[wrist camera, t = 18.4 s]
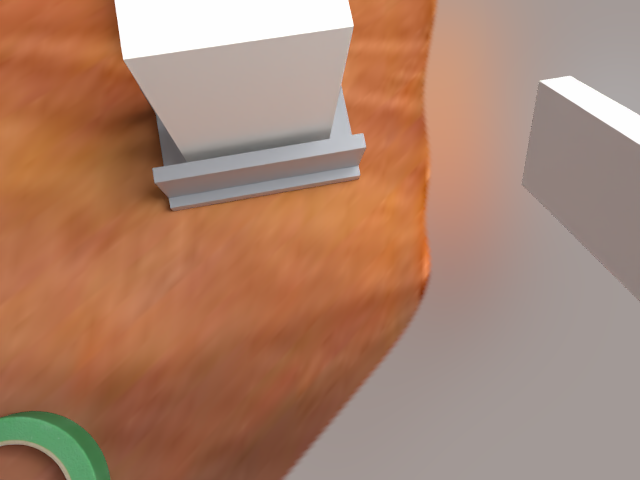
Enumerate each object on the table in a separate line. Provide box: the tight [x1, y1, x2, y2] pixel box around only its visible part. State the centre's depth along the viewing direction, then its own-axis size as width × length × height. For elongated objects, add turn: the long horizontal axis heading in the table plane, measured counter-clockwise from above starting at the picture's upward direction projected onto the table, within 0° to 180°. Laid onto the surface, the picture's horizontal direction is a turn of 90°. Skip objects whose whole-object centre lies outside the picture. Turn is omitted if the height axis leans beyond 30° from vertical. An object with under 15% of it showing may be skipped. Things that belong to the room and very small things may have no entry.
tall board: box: [115, 0, 354, 162], centre depth 30 cm, size 10×4×16 cm, turn 101°
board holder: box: [140, 87, 366, 211], centre depth 37 cm, size 14×9×5 cm, turn 101°
